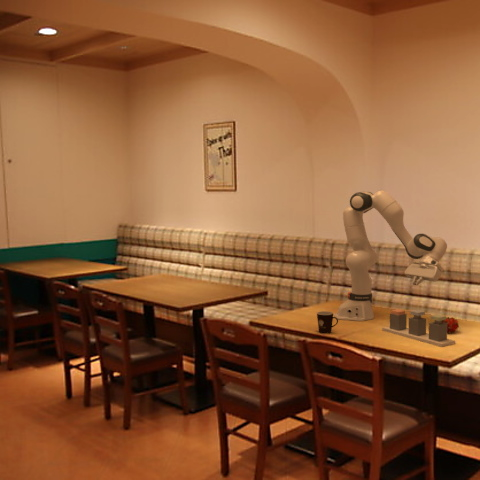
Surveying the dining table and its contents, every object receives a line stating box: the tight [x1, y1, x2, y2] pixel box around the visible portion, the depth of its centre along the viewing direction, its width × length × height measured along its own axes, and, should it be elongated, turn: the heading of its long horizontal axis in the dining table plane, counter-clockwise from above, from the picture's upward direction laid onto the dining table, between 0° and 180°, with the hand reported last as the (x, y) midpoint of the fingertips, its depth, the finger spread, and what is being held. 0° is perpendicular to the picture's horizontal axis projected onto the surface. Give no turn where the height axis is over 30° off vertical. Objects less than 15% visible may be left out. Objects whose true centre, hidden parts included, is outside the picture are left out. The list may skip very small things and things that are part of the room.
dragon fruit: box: [442, 316, 460, 334], centre depth 318 cm, size 8×8×12 cm
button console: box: [381, 313, 456, 348], centre depth 310 cm, size 38×10×10 cm, turn 33°
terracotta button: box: [390, 308, 406, 315], centre depth 320 cm, size 5×5×5 cm
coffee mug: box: [316, 310, 339, 334], centre depth 321 cm, size 12×9×10 cm
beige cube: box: [409, 309, 426, 319], centre depth 309 cm, size 5×5×5 cm
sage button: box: [430, 314, 447, 325], centre depth 299 cm, size 5×5×5 cm
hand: (415, 284), depth 324 cm, fingers closed
